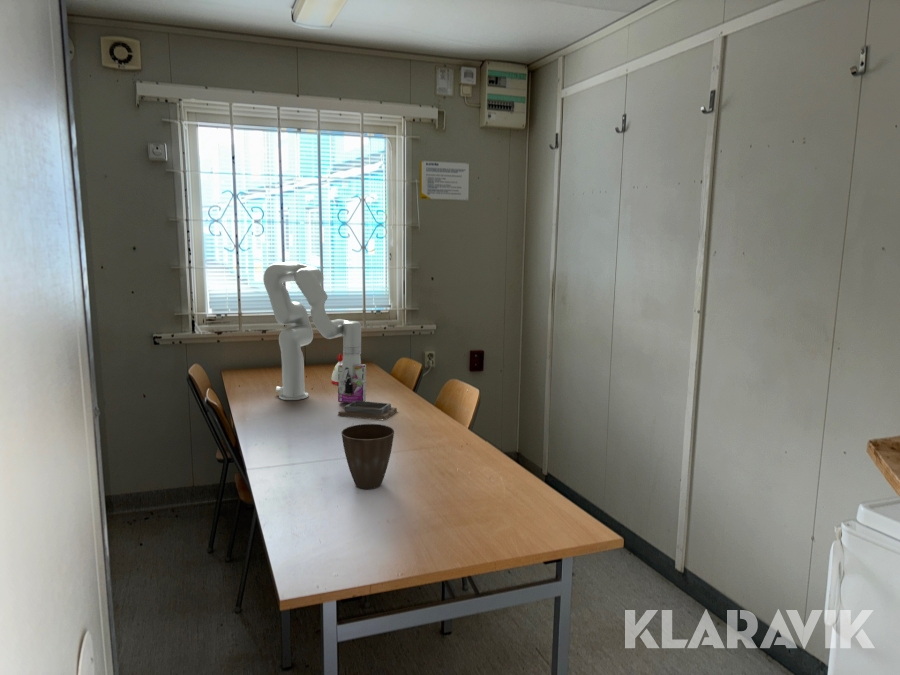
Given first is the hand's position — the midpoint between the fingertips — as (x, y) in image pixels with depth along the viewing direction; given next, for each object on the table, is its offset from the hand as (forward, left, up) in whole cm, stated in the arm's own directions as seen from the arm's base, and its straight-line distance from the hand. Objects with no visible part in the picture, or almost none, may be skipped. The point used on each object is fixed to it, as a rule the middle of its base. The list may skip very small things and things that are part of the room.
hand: (352, 391), depth 266 cm
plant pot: (+43, -80, -6) cm, 91 cm away
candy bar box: (0, 0, -5) cm, 5 cm away
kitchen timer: (-20, +36, -6) cm, 42 cm away
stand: (+13, -12, -5) cm, 18 cm away
